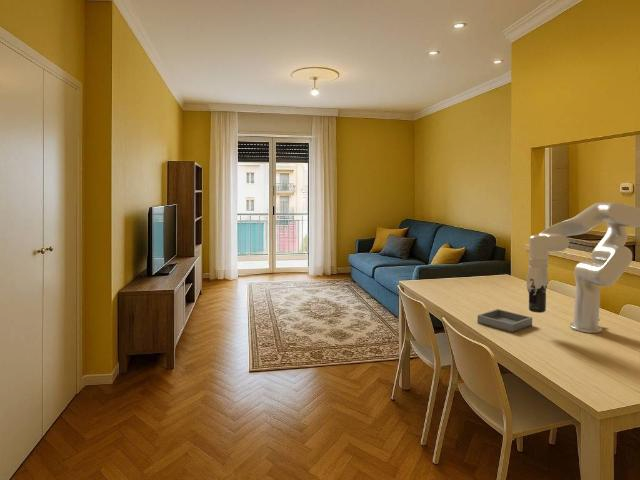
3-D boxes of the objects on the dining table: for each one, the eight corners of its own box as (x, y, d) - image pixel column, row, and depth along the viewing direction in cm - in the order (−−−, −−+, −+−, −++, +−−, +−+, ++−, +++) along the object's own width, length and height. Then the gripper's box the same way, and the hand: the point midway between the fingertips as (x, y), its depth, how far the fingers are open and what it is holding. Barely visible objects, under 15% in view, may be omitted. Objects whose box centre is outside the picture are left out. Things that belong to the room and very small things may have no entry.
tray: (497, 316, 208) (497, 308, 207) (532, 325, 193) (532, 317, 193) (477, 323, 198) (477, 315, 198) (512, 333, 183) (512, 324, 183)
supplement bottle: (529, 307, 187) (530, 282, 185) (546, 309, 183) (547, 283, 181) (527, 311, 181) (528, 285, 180) (544, 313, 177) (545, 287, 176)
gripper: (539, 259, 187) (538, 296, 189) (519, 264, 177) (518, 303, 180) (556, 261, 181) (555, 299, 183) (536, 266, 171) (535, 307, 173)
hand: (537, 301), depth 181 cm, fingers closed on supplement bottle, 6 cm apart
